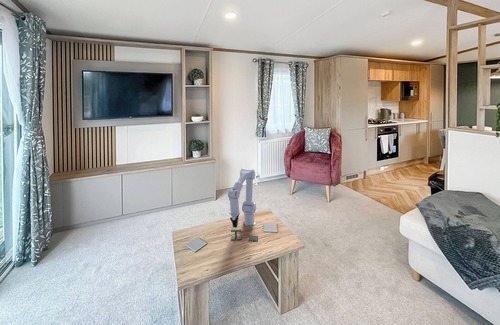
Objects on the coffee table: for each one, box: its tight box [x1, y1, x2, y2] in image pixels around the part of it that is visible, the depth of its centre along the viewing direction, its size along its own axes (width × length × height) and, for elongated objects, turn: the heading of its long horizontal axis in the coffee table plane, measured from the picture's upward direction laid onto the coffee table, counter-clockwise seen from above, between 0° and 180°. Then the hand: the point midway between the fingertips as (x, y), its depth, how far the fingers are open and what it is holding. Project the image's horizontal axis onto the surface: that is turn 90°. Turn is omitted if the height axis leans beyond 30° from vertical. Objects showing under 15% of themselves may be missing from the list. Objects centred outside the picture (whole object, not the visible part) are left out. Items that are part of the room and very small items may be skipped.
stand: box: [230, 228, 242, 241], centre depth 182 cm, size 5×7×7 cm
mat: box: [248, 235, 259, 242], centre depth 182 cm, size 6×6×1 cm
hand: (235, 225), depth 181 cm, fingers closed on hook, 5 cm apart
